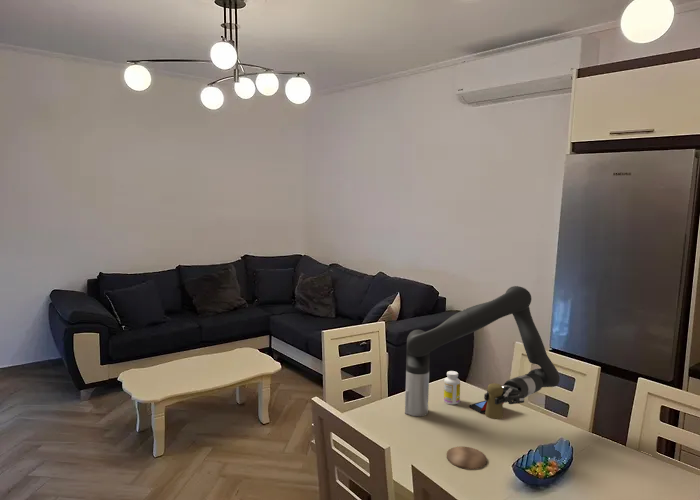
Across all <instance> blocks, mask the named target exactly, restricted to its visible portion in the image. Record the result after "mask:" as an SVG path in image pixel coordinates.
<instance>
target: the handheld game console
mask: <svg viewBox="0 0 700 500" xmlns="http://www.w3.org/2000/svg"><path fill="white" fill-rule="evenodd" d="M487 401H488V400H485V399H484V400H482V401H478V402H474V403H471V404H469V405H468V408H469V409H472V410H473V411H475V412H477V413H479V414H484V413H485V412H486V406H487ZM503 407H504V403H502V408H503Z"/></svg>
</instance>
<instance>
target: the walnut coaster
mask: <svg viewBox="0 0 700 500" xmlns="http://www.w3.org/2000/svg"><path fill="white" fill-rule="evenodd" d="M446 459H447V461H448V462H449V463H450V464H451V465H453V466H455V467H457V468H460V469H465V470H477V469H479V470H480V469H481V468H483V467H485V466H487V465H486V464H487V456H486V455H485V453H484V452H482V451H481V450H479V449H476V448H473V447H469V446H455V447H451V448H450V449H448V450H447V451H446Z"/></svg>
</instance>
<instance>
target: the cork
mask: <svg viewBox="0 0 700 500" xmlns="http://www.w3.org/2000/svg"><path fill="white" fill-rule="evenodd" d="M487 388H488V389H487ZM487 388H486V391H487V390H488V393H489V397H488V401H487V406H486V412H485V414H484V416H486V418H488V419H491V420H501V419H503V418H504V409H503V407H502V403H501V404H498V405H496V404H495V398H497V397H499V396H501V395H502V394H503V387H502V385H501V384H500V383H497V382H496V383H493V382H492V383H490V384H488V385H487Z"/></svg>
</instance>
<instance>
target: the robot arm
mask: <svg viewBox="0 0 700 500" xmlns="http://www.w3.org/2000/svg"><path fill="white" fill-rule="evenodd" d="M531 304H532V295H531V293H530V291H529V290H527V288H525V287H523V286H518V285H514V286H510V287H509V288H507V290H506V291H505V293H503V294H502V295H500V296H498V297H496V298H494V299H492V300H490V301H488V302H487V301H486V302H483V303H478V304H476V305H472V306H469V307H467V308H465V309H463V310H461V311H459V312H455V313H454V314H453V315H451V316H449V318H447V319H446V320H445V321H443V322H442V323H440V324H439V325H438V326H436V327H435V328H432V329H429V330H427V331H425V330H422V329H414V330H412V331H410V332H409V334H408V335H407V338H406V356H405V357H406V359H405V363H406V364H405V401H404V402H405V403H404V405H405V406H404V414H405V415H409V416H413V417H423V416H427V415H428V413H429V395H430V394H429V389H430V388H429V387H430V353H431V352H433V351H435V350H437V349H438V348H440V347H443V345H446V344H448V343H450V342H453V341H456V340H458V339H461V338H462V337H465V336H467V335H470V334H472V333H474V332H477V331H479V330H480V329H482V328H485V327H487V326H488V325H491V324H492V323H494V322H496V321H498V320H499V319H501V318H504V317H507V316H509V315H512V317H513V318H514V321H515V323H516V326H517V328H518V332H519V335H520V337H521V340H522V344H523V345H522V346H523V347H524V351H525V354H526V357H527V359H528V361H529V363H531V364H533V365H536V366H539V367H540V368H535V369H531V370H530V371H529V372H527V373H525V374H523V375H518V376H516V377H513V378H510V379H508V380H506V381H505V382H504V384H503V385H501V386H502V387H503V394H502V395H501V396H499V397H497V398H495V404H496V405H498V404H501V403H503V404H506V403H508V404H509V405H516V404H523V403H525V399H526V398H527V397H530V396H532V395H533V394H535V393H538V392H539V391H541V389H542V388H553V387H557V386H558V385H559V384H560V381H561V380H560V379H561V377H560V374H559V371H558V369H557V368H556V366H555V365H554V362H553V361H552V360H551V359H550V357H549V355H548V354H547V351H546V347H545V344H544V342H543V340H542V338H541V336H540V333H539V331H538V329H537V327H536V325H535V322H534V320H533V317H532V314H531V313H532V312H531V310H530V309H531V308H530V305H531ZM487 389H488V387H487V388H486V393H484V396H483V397H484V401H485V400H488V397H489V393H488V390H487Z"/></svg>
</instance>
